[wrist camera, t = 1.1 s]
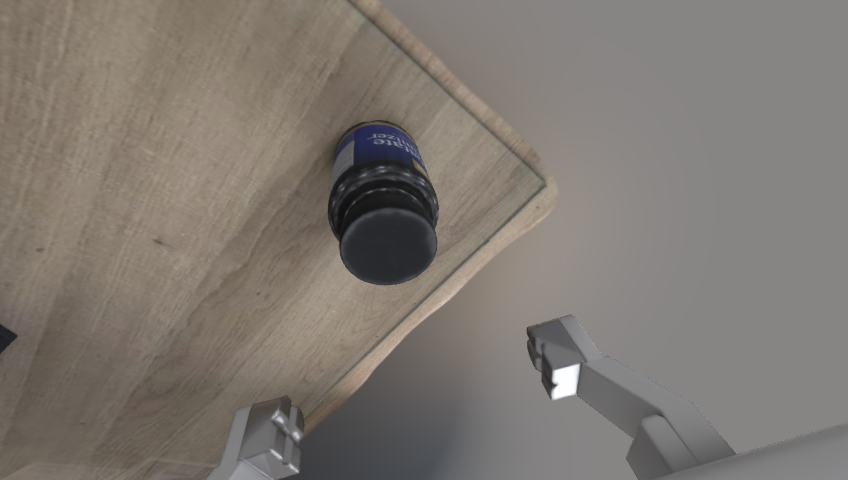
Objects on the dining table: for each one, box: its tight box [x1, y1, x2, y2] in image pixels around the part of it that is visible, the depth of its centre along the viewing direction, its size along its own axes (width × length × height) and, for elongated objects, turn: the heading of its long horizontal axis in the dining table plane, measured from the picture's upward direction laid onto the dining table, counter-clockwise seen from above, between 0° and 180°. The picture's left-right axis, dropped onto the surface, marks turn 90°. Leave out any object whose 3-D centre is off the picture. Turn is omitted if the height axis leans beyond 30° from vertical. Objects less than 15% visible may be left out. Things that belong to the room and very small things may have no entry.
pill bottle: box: [328, 120, 439, 285], centre depth 20 cm, size 6×6×11 cm
